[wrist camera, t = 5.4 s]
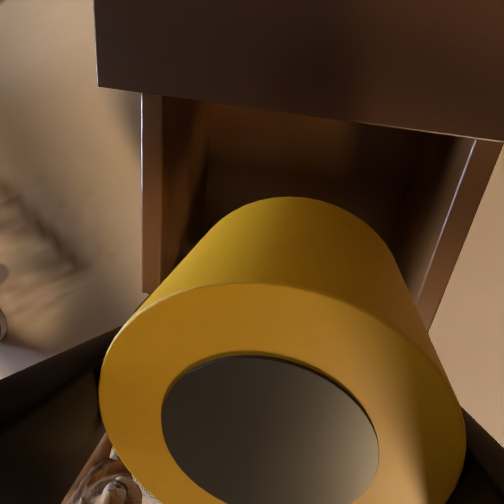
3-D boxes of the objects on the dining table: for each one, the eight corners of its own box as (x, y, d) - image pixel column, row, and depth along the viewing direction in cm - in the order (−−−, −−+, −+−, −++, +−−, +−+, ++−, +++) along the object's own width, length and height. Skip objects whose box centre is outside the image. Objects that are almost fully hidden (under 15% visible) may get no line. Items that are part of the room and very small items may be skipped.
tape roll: (258, 404, 13) (219, 577, 8) (151, 259, 11) (28, 370, 6) (440, 342, 10) (532, 533, 6) (335, 149, 9) (348, 200, 4)
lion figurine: (171, 408, 27) (105, 541, 19) (179, 457, 29) (122, 596, 21) (6, 387, 30) (-114, 495, 21) (24, 433, 32) (-80, 548, 23)
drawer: (368, 368, 21) (385, 469, 15) (182, 327, 23) (133, 405, 17) (477, 39, 14) (585, -6, 8) (199, 9, 16) (124, -47, 10)
